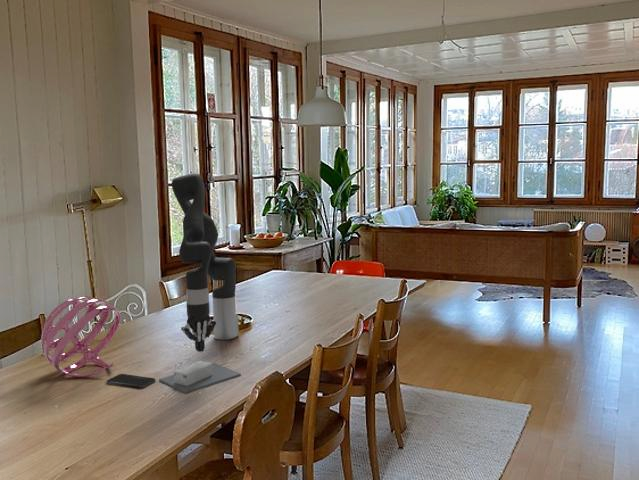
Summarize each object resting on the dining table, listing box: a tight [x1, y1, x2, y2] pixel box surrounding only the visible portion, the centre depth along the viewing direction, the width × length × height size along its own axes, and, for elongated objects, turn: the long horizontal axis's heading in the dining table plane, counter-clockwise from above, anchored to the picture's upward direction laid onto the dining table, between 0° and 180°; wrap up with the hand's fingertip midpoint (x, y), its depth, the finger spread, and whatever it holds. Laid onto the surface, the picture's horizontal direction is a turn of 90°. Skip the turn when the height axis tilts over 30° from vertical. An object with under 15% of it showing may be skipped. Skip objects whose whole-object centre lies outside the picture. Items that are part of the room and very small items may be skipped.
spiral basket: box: [40, 295, 122, 378], centre depth 213 cm, size 28×28×27 cm
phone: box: [106, 373, 156, 390], centre depth 203 cm, size 8×1×15 cm
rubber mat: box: [158, 362, 242, 394], centre depth 206 cm, size 22×16×1 cm
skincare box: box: [173, 360, 212, 386], centre depth 203 cm, size 6×4×12 cm
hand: (200, 350), depth 206 cm, fingers closed
